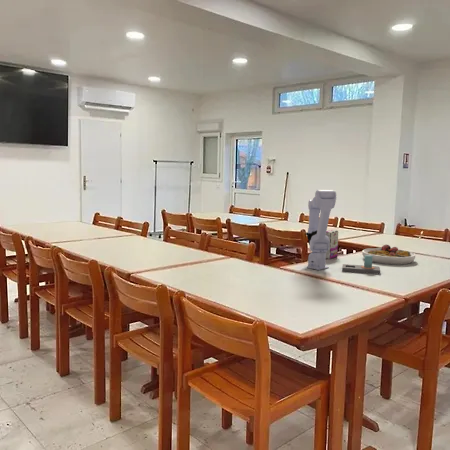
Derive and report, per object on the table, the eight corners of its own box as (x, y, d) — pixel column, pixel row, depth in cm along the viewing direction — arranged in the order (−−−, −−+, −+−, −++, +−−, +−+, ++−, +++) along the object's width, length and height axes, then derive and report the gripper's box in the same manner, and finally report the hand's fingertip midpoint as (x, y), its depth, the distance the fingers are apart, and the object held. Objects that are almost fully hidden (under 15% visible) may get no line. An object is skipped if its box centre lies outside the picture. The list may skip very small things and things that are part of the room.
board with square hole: (342, 271, 238) (342, 267, 238) (342, 267, 248) (342, 264, 247) (380, 274, 233) (380, 270, 233) (379, 270, 243) (379, 266, 242)
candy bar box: (330, 255, 282) (331, 229, 280) (337, 256, 279) (338, 230, 277) (322, 258, 274) (323, 231, 272) (330, 259, 270) (331, 232, 268)
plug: (369, 268, 236) (369, 257, 236) (362, 266, 239) (363, 255, 239) (373, 267, 239) (374, 256, 238) (366, 266, 242) (367, 254, 241)
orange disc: (370, 269, 234) (370, 269, 234) (358, 267, 239) (358, 266, 239) (377, 267, 239) (377, 267, 239) (365, 265, 244) (365, 265, 244)
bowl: (420, 267, 254) (421, 253, 253) (364, 264, 260) (365, 250, 259) (409, 257, 283) (410, 244, 282) (359, 254, 289) (360, 242, 288)
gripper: (316, 222, 251) (315, 246, 252) (324, 220, 263) (323, 243, 265) (304, 221, 254) (303, 245, 256) (312, 219, 267) (311, 242, 268)
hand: (313, 244), depth 261 cm, fingers open, 7 cm apart
